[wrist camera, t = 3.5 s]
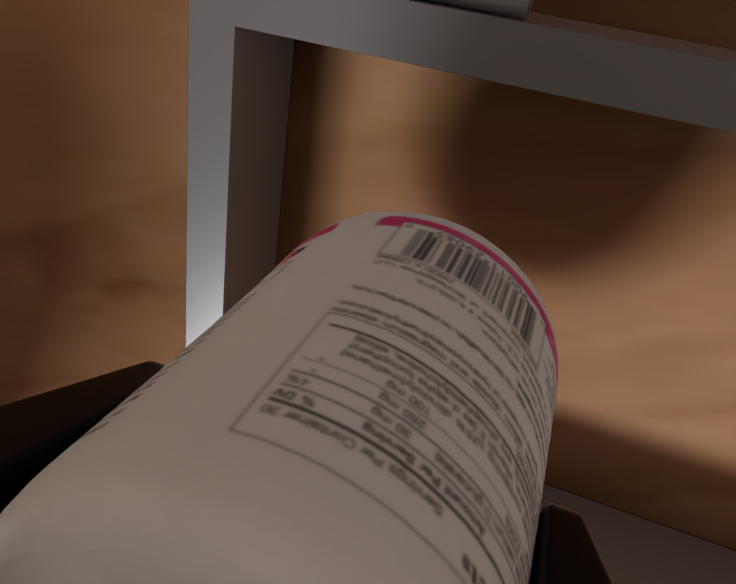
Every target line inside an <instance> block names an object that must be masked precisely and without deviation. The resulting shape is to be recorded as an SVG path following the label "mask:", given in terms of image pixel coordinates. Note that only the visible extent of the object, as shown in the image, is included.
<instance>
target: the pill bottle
mask: <svg viewBox="0 0 736 584" xmlns="http://www.w3.org/2000/svg"><path fill="white" fill-rule="evenodd" d="M557 381H558V350H557V343H556V338H555V334H554V329H553V326H552V323H551V320H550V317H549V314H548V312H547V310H546V307H545V305H544V303H543V301H542V299H541V297H540V295H539V293H538V292H537V290H536V289H535V287H534V285H533V284H532V283H531V281H530V280H529V279H528V277H527V276H526V275H525V273H524V272H523V271H522V270H521V269H520V268H519V267H518V266H517V264H516V263H515V262H514V261H512V260H511V259H510V258H509V257H508V256H507V255H506V254H505V253H504V252H503V251H501V250H500V249H499V248H498V247H496V246H495V245H494V244H492V243H491V242H490V241H488V240H487V239H485V238H484V237H482V236H481V235H479V234H477V233H476V232H474V231H472V230H470V229H468V228H466V227H464V226H461V225H459V224H456V223H454V222H451V221H449V220H446V219H443V218H439V217H435V216H431V215H426V214H420V213H413V212H401V211H381V212H372V213H365V214H361V215H356V216H353V217H350V218H346V219H343V220H341V221H338V222H336V223H333V224H331V225H329V226H327V227H326V228H324V229H322V230H321V231H319V232H317V233H315V234H314V235H312V236H311V237H310V238H308V239H307V240H305V241H304V242H302V243H301V244H300V245H299V246H297V247H296V248H295V249H294V250H293V251H292V252H291V253H290V254H289V255H288V256H286V257H285V258H284V259H283V260H282V261H281V262H280V263H279V264H278V265H277V266H276V267H275V268H274V269H273V270H272V271H271V272H270V273H269V274H268V275H267V276H266V277H265V278H264V279H263V280H262V281H261V282H260V283H258V284H257V285H256V286H255V287H254V288H253V289H252V290H251V291H250V292H249V293H248V294H246V295H245V296H244V297H243V298H242V299H241V300H240V301H239V302H237V303H236V304H235V305H234V306H233V307H232V308H231V309H230V310H229V311H227V312H226V313H225V314H224V315H223V316H222V317H221V318H219V319H218V320H217V321H216V322H215V323H214V324H213V325H212V326H211V327H209V328H208V329H207V330H206V331H205V332H204V333H202V334H201V335H200V336H199V337H198V338H197V339H195V340H194V341H193V342H192V343H191V344H190V345H189V346H187V347H186V348H185V349H184V350H183V351H182V352H181V353H179V354H178V355H177V356H176V357H175V358H173V359H172V360H171V361H170V362H168V363H167V364H166V365H165V366H164V367H163V368H162V369H161V370H160V371H159V372H157V373H156V374H155V375H154V376H153V377H152V378H150V379H149V380H148V381H147V382H145V383H144V384H143V385H142V386H141V387H139V388H138V389H137V390H136V391H135V392H133V393H132V394H131V395H130V396H129V397H128V398H126V399H125V400H124V401H123V402H122V403H121V404H119V405H118V406H117V407H116V408H115V409H114V410H112V411H111V412H110V413H109V414H108V415H107V416H105V417H104V418H103V419H102V420H101V421H99V422H98V423H97V424H96V425H95V426H94V427H92V428H91V429H90V430H89V431H88V432H87V433H85V434H84V435H83V436H82V437H81V438H80V439H78V440H77V441H76V442H75V443H74V444H72V445H71V446H70V447H69V448H68V449H67V450H65V451H64V452H63V453H62V454H61V455H60V456H58V457H57V458H56V459H55V460H54V461H52V462H51V463H50V464H49V465H48V466H47V467H46V468H44V469H43V470H42V471H41V472H40V473H39V474H38V475H37V476H36V477H35V478H33V479H32V480H31V481H30V482H29V483H28V484H27V485H26V486H25V488H24V489H23V490H22V491H21V492H20V493H19V494H18V495H17V496H16V497H15V498H14V499H13V500H12V501H11V502H10V503H9V504H8V505H7V506H6V508H5V509H4V510H3V511H2V513H1V514H0V584H529V583H530V577H531V570H532V564H533V556H534V549H535V541H536V534H537V529H538V520H539V514H540V509H541V500H542V494H543V485H544V479H545V471H546V464H547V456H548V450H549V444H550V439H551V429H552V422H553V414H554V407H555V400H556V393H557Z"/></svg>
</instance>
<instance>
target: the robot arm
mask: <svg viewBox="0 0 736 584" xmlns="http://www.w3.org/2000/svg"><path fill="white" fill-rule="evenodd" d="M164 366H165V365H163V364H160V363H157V362H153V361H148V362H143V363H140V364H137V365H134V366H130V367H127V368H124V369H121V370H117V371H114V372H111V373H107V374H104V375H101V376H98V377H94V378H91V379H88V380H85V381H81V382H78V383H75V384H72V385H68V386H65V387H62V388H58V389H55V390H52V391H49V392H45V393H42V394H39V395H36V396H32V397H29V398H26V399H23V400H19V401H16V402H13V403H9V404H6V405H3V406H0V514H1V513H2V511H3V510H4V509H5V508H6V506H7V505H8V504H9V503H10V502H11V501H12V500H13V499H14V498H15V497H16V496H17V495H18V494H19V493H20V492H21V491H22V490H23V489H24V488H25V486H26V485H27V484H28V483H29V482H30V481H31V480H32V479H33V478H35V477H36V476H37V475H38V474H39V473H40V472H41V471H42V470H43V469H44V468H46V467H47V466H48V465H49V464H50V463H51V462H52V461H54V460H55V459H56V458H57V457H58V456H60V455H61V454H62V453H63V452H64V451H65V450H67V449H68V448H69V447H70V446H71V445H72V444H74V443H75V442H76V441H77V440H78V439H80V438H81V437H82V436H83V435H84V434H85V433H87V432H88V431H89V430H90V429H91V428H92V427H94V426H95V425H96V424H97V423H98V422H99V421H101V420H102V419H103V418H104V417H105V416H107V415H108V414H109V413H110V412H111V411H112V410H114V409H115V408H116V407H117V406H118V405H119V404H121V403H122V402H123V401H124V400H125V399H126V398H128V397H129V396H130V395H131V394H132V393H133V392H135V391H136V390H137V389H138V388H139V387H141V386H142V385H143V384H144V383H145V382H147V381H148V380H149V379H150V378H152V377H153V376H154V375H155V374H156V373H157V372H159V371H160V370H161V369H162V368H163V367H164ZM529 584H613V582H612V580H611V578H610V576H609V573H608V571H607V569H606V567H605V564H604V562H603V560H602V558H601V556H600V553H599V551H598V549H597V547H596V544H595V542H594V540H593V538H592V535H591V533H590V531H589V529H588V527H587V524H586V522H585V520H584V518H583V517H582V515H581V514H579V513H578V512H576V511H573V510H570V509H567V508H564V507H562V506H559V505H556V504H553V503H547V504H546V505H544V507H543V508H542V511H541V513H540V515H539V520H538V529H537V534H536V541H535V549H534V556H533V564H532V570H531V577H530V583H529Z"/></svg>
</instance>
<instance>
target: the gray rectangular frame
mask: <svg viewBox="0 0 736 584" xmlns="http://www.w3.org/2000/svg"><path fill="white" fill-rule="evenodd" d="M533 1H534V0H189V61H188V167H187V274H186V347H187V346H189V345H190V344H191V343H192V342H193V341H194V340H195V339H197V338H198V337H199V336H200V335H201V334H202V333H204V332H205V331H206V330H207V329H208V328H209V327H211V326H212V325H213V324H214V323H215V322H216V321H217V320H218V319H219V318H221V317H222V316H223V315H224V314H225V313H226V312H227V311H229V310H230V309H231V308H232V307H233V306H234V305H235V304H236V303H237V302H239V301H240V300H241V299H242V298H243V297H244V296H245V295H246V294H248V293H249V292H250V291H251V290H252V289H253V288H254V287H255V286H256V285H257V284H258V283H260V282H261V281H262V280H263V279H264V278H265V277H266V276H267V275H268V274H269V273H270V272H271V271H272V270H273V269H274V268H275V263H276V251H277V239H278V227H279V216H280V204H281V192H282V180H283V168H284V157H285V145H286V133H287V121H288V109H289V98H290V86H291V74H292V62H293V50H294V39H297V40H301V41H306V42H311V43H315V44H320V45H325V46H329V47H334V48H339V49H343V50H348V51H353V52H357V53H362V54H367V55H372V56H376V57H381V58H386V59H390V60H395V61H400V62H404V63H409V64H414V65H418V66H423V67H428V68H432V69H437V70H442V71H446V72H451V73H456V74H460V75H465V76H470V77H474V78H479V79H484V80H488V81H493V82H498V83H502V84H507V85H512V86H516V87H521V88H526V89H531V90H535V91H540V92H545V93H549V94H554V95H559V96H563V97H568V98H573V99H577V100H582V101H587V102H591V103H596V104H601V105H605V106H610V107H615V108H619V109H624V110H629V111H633V112H638V113H643V114H647V115H652V116H657V117H661V118H666V119H671V120H675V121H680V122H685V123H689V124H694V125H699V126H704V127H708V128H713V129H718V130H722V131H727V132H732V133H736V50H734V49H729V48H723V47H718V46H712V45H707V44H702V43H696V42H691V41H686V40H680V39H675V38H670V37H664V36H659V35H653V34H648V33H643V32H637V31H632V30H627V29H621V28H616V27H611V26H605V25H600V24H594V23H589V22H584V21H578V20H573V19H568V18H562V17H557V16H552V15H546V14H541V13H535V12H530V10H531V8H532V5H533ZM547 503H553V504H556V505H559V506H562V507H564V508H567V509H570V510H573V511H576V512H578V513H579V514H581V515H582V517H583V518H584V520H585V522H586V524H587V527H588V529H589V531H590V533H591V535H592V538H593V540H594V542H595V544H596V547H597V549H598V551H599V553H600V556H601V558H602V560H603V562H604V564H605V567H606V569H607V571H608V573H609V576H610V578H611V580H612V582H613V584H736V551H733V550H730V549H728V548H725V547H722V546H719V545H716V544H713V543H711V542H708V541H705V540H702V539H699V538H696V537H693V536H691V535H688V534H685V533H682V532H679V531H676V530H674V529H671V528H668V527H665V526H662V525H659V524H656V523H654V522H651V521H648V520H645V519H642V518H639V517H637V516H634V515H631V514H628V513H625V512H622V511H619V510H617V509H614V508H611V507H608V506H605V505H602V504H599V503H597V502H594V501H591V500H588V499H585V498H582V497H580V496H577V495H574V494H571V493H568V492H565V491H562V490H560V489H557V488H554V487H551V486H548V485H545V484H544V485H543V494H542V500H541V509H540V513H541V511H542V508H543V507H544V505H546V504H547ZM539 515H540V514H539Z"/></svg>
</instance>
